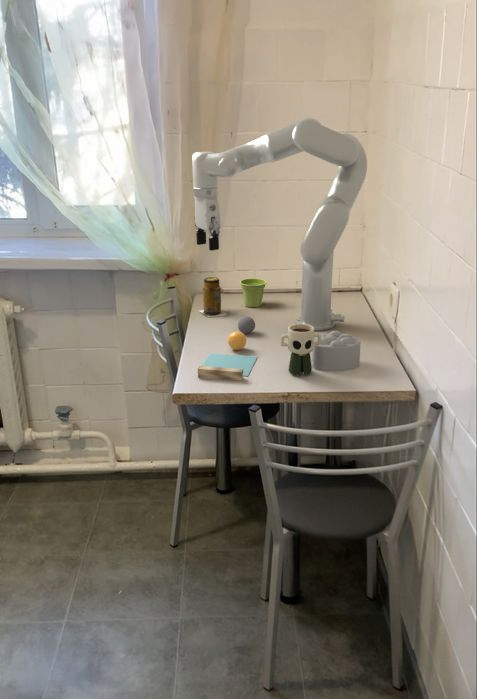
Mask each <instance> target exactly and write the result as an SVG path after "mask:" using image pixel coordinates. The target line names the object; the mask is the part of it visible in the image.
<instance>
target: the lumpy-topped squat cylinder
mask: <svg viewBox="0 0 477 699" xmlns="http://www.w3.org/2000/svg"><path fill="white" fill-rule="evenodd" d="M320 334H321V344H320V345H314V349H313V351H312V353H311V354H312V355H311V363H312V369H314V370H316V371H319V372H320V371H321V372H333V373H335V372H340V373H341V372H348V371H353V370H356V369H357V368H359V367H360V360H361V358H360V357H361V340H360V339H359V338H357V337H354V336H352V335H351V334H349V333H341V332H340V331H339V330H331V331H330V332H329V333H324V332H323V333H320ZM317 341H318V337H314V342H317Z"/></svg>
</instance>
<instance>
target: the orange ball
mask: <svg viewBox="0 0 477 699" xmlns="http://www.w3.org/2000/svg"><path fill="white" fill-rule="evenodd" d="M227 344H228V346H229V348H231V349H232V350H235V351H239V350H242V349H243V348H245V346H246V345H247V337H246V334H244V333H242V332H241V331H240V330H239V331H233V332H231V333H230V334H229V335H228V338H227Z"/></svg>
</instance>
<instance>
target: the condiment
mask: <svg viewBox="0 0 477 699" xmlns="http://www.w3.org/2000/svg"><path fill="white" fill-rule="evenodd" d="M221 288H222V287H221V286H220V279H219V277H215V276H214V277H213V276H211V277H209V276H208V277H205V278H204V279H203V287H202V290H203V291H202V293H203V294H202V298H203V299H202V303H203V304H202V305H203V309H201V310H200V309H199V310H198V312H200V313H201V314H203V315H204V316H205V317H207V318H214V317H221V316H227V315H228V313H226V312H225V311H222V291H221V290H222V289H221Z"/></svg>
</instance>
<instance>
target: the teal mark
mask: <svg viewBox="0 0 477 699" xmlns="http://www.w3.org/2000/svg"><path fill="white" fill-rule="evenodd" d="M257 359H258V356H256V355H243V354H242V355H241V354H240V355H239V354H229V353H228V354H227V353H224V354H223V353H213V352H212V353H211V352H210V353H209V354H208V356H207V357H206V359H205V360H204V362H203V363H202V365H201V366H207V367H221V368H234V369H243V377H249V375H250V372H251V370H252V369H253V367H254V365H255V363H256V360H257ZM196 372H197V374H198V371H196Z"/></svg>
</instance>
